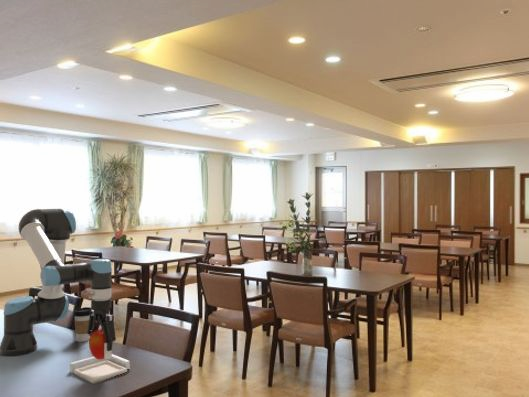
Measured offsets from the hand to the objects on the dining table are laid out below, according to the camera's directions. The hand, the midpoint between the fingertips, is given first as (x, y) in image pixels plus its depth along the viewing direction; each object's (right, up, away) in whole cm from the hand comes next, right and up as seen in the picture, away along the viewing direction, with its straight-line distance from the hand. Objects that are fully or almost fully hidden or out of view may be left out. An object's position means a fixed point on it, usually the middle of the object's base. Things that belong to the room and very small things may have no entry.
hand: (101, 355), depth 180 cm
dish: (0, -7, 0) cm, 7 cm away
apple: (0, -1, 0) cm, 1 cm away
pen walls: (-2, -7, +3) cm, 8 cm away
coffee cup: (-24, -7, +43) cm, 50 cm away
